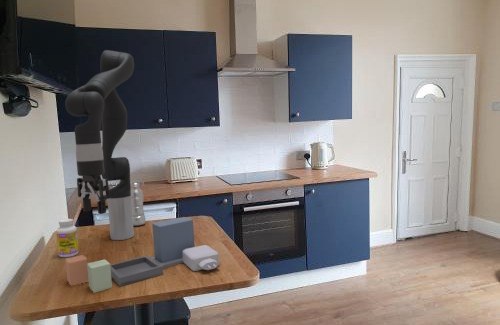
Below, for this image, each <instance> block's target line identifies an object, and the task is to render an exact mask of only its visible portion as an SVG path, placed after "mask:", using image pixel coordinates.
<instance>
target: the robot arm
mask: <svg viewBox="0 0 500 325" xmlns="http://www.w3.org/2000/svg"><path fill="white" fill-rule="evenodd" d="M99 62H100V65H99V66H100V73H97V74H95V75H94V76H93V77H91V78H90V79H89V81H88V82H86V84H84V85H82V86H80V87H78V88H76V89H73V90H72V91H70V93H68V95H67V96H66V98H65V102H64V103H65V104H64V105H65V110H66V111H67V113H68V114H69V115H71V116H73V117H88V118H87V120H86V122H83V123H81V124H78V125H76V126H75V128H74V136H75V137H74V138H75V140H74V141H75V161H76V171H77V175H78V176H80V177H78V178H77V179H76V185H77V187H76V188H77V197H78V198H81V200H82V206H83V212H90V211H92V201H91V196H93V197H95V199H96V202H97V204H96V205H97V212H98V213H97V214H99V215H102V214H104V215H105V214H106V213H107V212H108V221H109V222H108V223H109V234H110V239H111V240H112V241H122V240H123V241H124V240H128V239H130V238H133V237H134V236H135V232H134V231H135V230H134V229H135V228H134V225H133V216H132V204H131V189H132V187H131V166H130V162H129V159H128V158H127V157H125V156H120V157H119V156H118V157H112V156H113V153H114V150H115V149H116V146H117V145H118V143H119V142H120V140H121V139H122V138H123V136H124V135H125V133H126V131H127V129H128V111H127V110H128V109H127V108H126V106H125V104H124V103H123V101H122V99H121V98H120V96H119V94H118V93H117V90H116V88H117V87H118V86H120V85H122V84H123V83H124V82H126V81H127V80H129V79H130V77H132V75H133V73H134V70H135V61H134V57H133V56H132V55H131V54H130V53H127V52H122V51H116V50H109V49H106V50H103V52H102V53H101V55H100V61H99ZM113 181H119V183H118V184H117V185H116V186H114V187H112V188H109V187H110V186H109V182H113ZM106 201H107V203H106ZM107 210H108V211H107Z"/></svg>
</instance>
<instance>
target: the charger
mask: <svg viewBox="0 0 500 325" xmlns="http://www.w3.org/2000/svg"><path fill="white" fill-rule="evenodd" d="M182 256H183V262H184V263H183V264H184V265H186V266H187V267H188V268H190V270H191V271H193V272H197V271H198V272H199V271H202V270H206V271H210V270H213V269H214V270H215V268H217V267H218V266H219V265H220V253H219V252H218V251H216V250H215V249H213V248H212V247H211V246H209V245H208V244H203V245H198V246H195V247H193V248H188V249H185V250H183V251H182Z"/></svg>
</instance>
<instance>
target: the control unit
mask: <svg viewBox="0 0 500 325" xmlns="http://www.w3.org/2000/svg"><path fill="white" fill-rule="evenodd" d="M151 224H152V225H151V226H152V238H153V240H152V241H153V251H154V256H150V258H151V259H153V260H154V261H156V262H157V263H159V264H160V265H162V266H163V269H165V268H170V267H173V266H177V265H180V264H185V263H184V262H183V256H182V251H183V250H185V249H188V248H193V247H196V246H195V245H196V244H195V230H194V220H193V219H192V218H189V217H186V216H183V217H179V218H173V219H172V218H171V219H168V220H162V221H158V222H157V221H156V222H153V223H151Z"/></svg>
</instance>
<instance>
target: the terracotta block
mask: <svg viewBox="0 0 500 325" xmlns="http://www.w3.org/2000/svg"><path fill="white" fill-rule="evenodd" d="M64 259H65V269H66V270H65V271H66V277H67V278H66V279H67V280H66V281H67V283H68V282H69V283H68V285H69V284H70V285H71V286H72V285H76V284H79V285H82V284H81V283H83V284H86V283H85V282H87V283H89V281H88V270H87V263H89V262H88V258H87V257H86V256H85V254H80V255H77V256H76V255H75V256H71V257H66V258H64ZM70 285H69V286H70ZM71 286H70V287H71ZM76 286H77V285H76ZM72 287H73V286H72Z"/></svg>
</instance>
